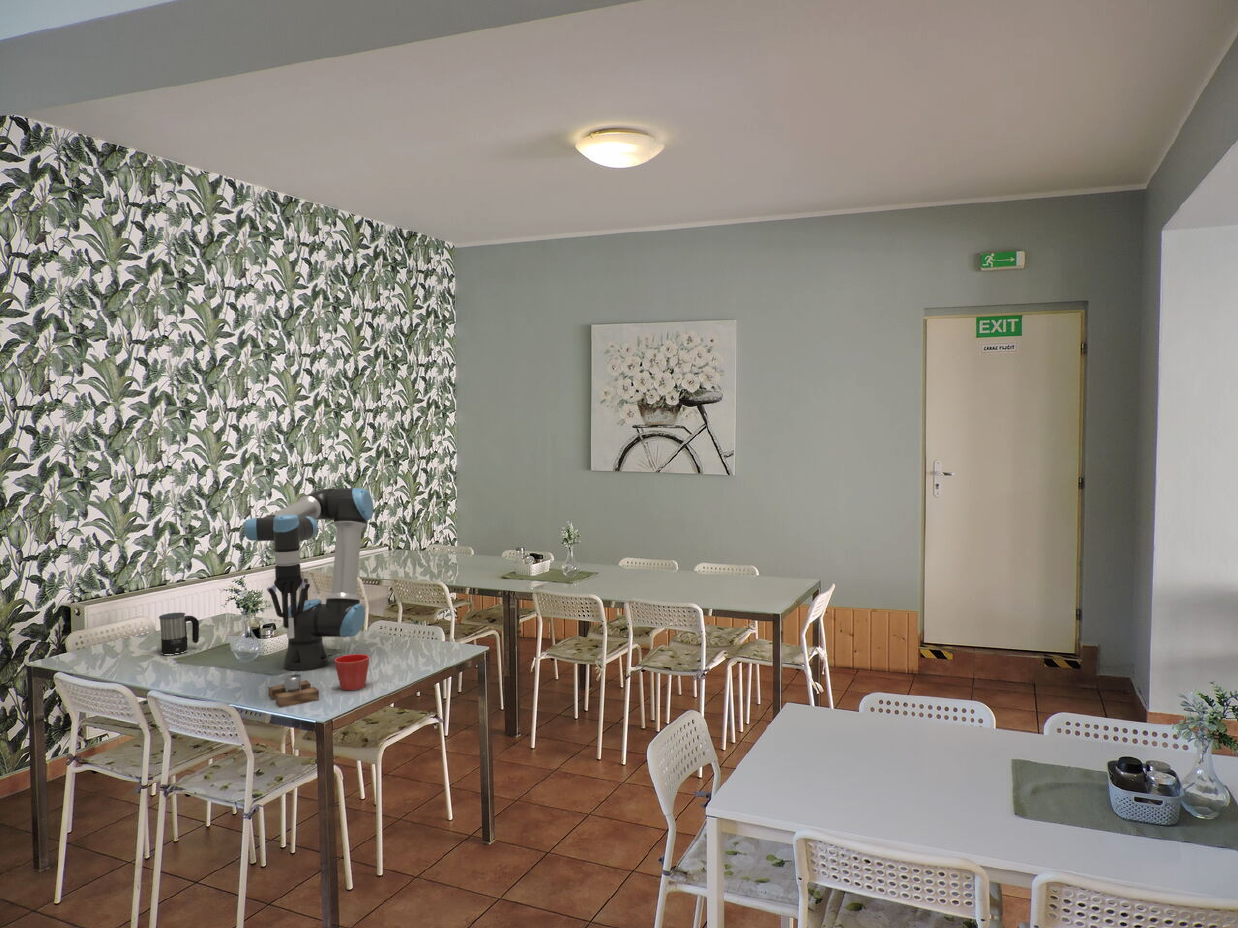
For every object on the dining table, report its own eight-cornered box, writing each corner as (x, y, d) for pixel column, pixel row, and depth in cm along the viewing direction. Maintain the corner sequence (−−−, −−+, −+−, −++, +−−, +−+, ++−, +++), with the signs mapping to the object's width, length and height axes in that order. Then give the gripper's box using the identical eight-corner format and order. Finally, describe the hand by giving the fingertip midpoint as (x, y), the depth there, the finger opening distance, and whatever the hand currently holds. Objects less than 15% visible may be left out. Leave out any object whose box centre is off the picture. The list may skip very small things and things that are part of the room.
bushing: (299, 694, 285) (298, 673, 285) (303, 698, 281) (302, 677, 281) (283, 697, 282) (282, 676, 282) (287, 701, 278) (286, 679, 278)
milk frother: (169, 657, 335) (167, 618, 334) (145, 652, 343) (143, 614, 342) (204, 648, 347) (202, 611, 346) (180, 643, 355) (178, 607, 354)
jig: (306, 689, 291) (306, 680, 291) (319, 699, 280) (318, 690, 279) (268, 696, 284) (268, 686, 284) (279, 707, 273) (279, 697, 273)
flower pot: (339, 682, 297) (338, 654, 297) (372, 681, 298) (372, 653, 298) (332, 692, 287) (331, 662, 286) (366, 691, 288) (365, 661, 287)
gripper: (305, 560, 287) (308, 631, 288) (263, 564, 279) (266, 638, 281) (312, 563, 281) (315, 636, 282) (269, 567, 273) (272, 643, 275)
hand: (290, 637), depth 282 cm, fingers closed
